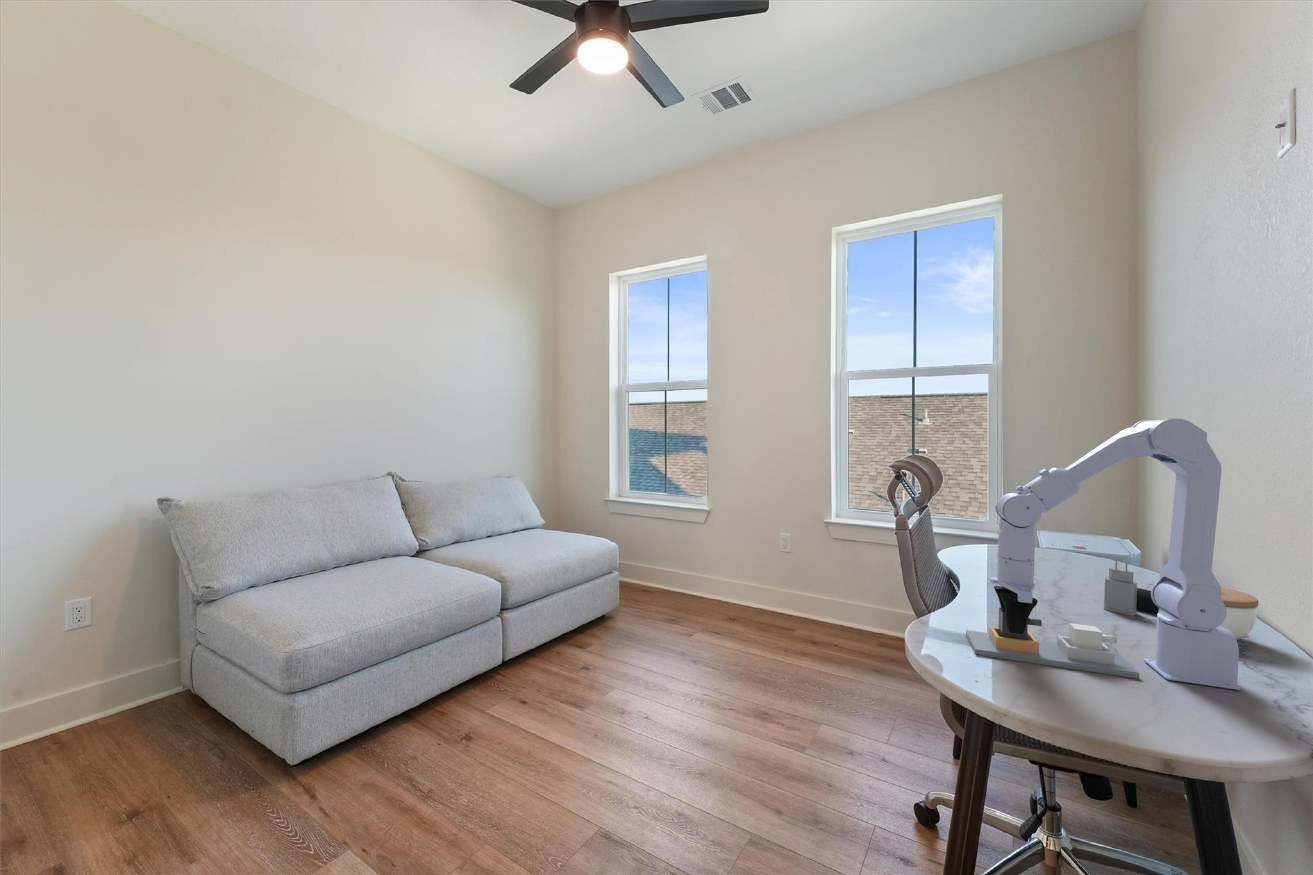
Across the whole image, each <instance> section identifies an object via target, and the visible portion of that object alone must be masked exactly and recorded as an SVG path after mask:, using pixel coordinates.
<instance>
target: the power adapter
mask: <svg viewBox="0 0 1313 875" xmlns="http://www.w3.org/2000/svg"><path fill="white" fill-rule="evenodd" d="M1114 566H1115V567H1109V568H1108V576H1106V577H1105V578H1104V586H1103V588H1104V590H1103V593H1104V594H1103V610H1106V611H1110V612H1113V613H1118V614H1123V615H1127V616H1131V617H1132V616H1135V615H1136V614H1137V609H1136V604H1137V588H1138V582H1137V581H1134V571H1132V570H1128V560H1125V569H1122V568H1118V558H1115V564H1114Z"/></svg>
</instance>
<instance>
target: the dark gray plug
mask: <svg viewBox="0 0 1313 875" xmlns="http://www.w3.org/2000/svg"><path fill="white" fill-rule="evenodd" d="M997 623H998V624H997V625H998V627H997V628H998V634H999V635H1000V637H1006V638H1013V639H1020V640H1027V632H1029V631H1028V627H1029V625H1030V626H1036V627H1042V626H1043V622H1042V619H1039V618H1031V617H1029V618H1028V620H1027V624H1026V627H1025V630H1024V633H1023V634H1017V633H1011V632H1009V629H1008V624H1007V616H1006V610H1005V608H1001V607H998V622H997Z"/></svg>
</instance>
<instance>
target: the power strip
mask: <svg viewBox="0 0 1313 875" xmlns="http://www.w3.org/2000/svg"><path fill="white" fill-rule="evenodd" d="M965 636H966V638H967V640H968V641H969V644H970V647H971V649H972V648H973V649H972V651H973V650H974V651H973V652H974V654H979V655H978V656H982V655H983V656H984V657H989V656H990V658H996V659H1004V660H1010V661H1016V662H1017V661H1018V662H1023V663H1032V664H1036V665H1045V666H1051V667H1057V668H1058V667H1059V668H1064V669H1072V670H1077V671H1083V672H1092V673H1096V674H1097V673H1098V674H1106V675H1110V676H1118V677H1125V678H1133V679H1137V680H1139V679H1140V672H1139V671H1138V670H1137V669H1135V667H1133V666H1132V665H1131V664H1130V663H1129V662H1128V661H1127V660H1126V659H1125V658H1123V657H1122V656H1121V655H1120V654H1119V653H1118V652H1117V651H1115V650H1114V649H1110V648H1109V647H1108V646H1107V645H1106V644H1105V643H1111V644H1117V639H1118V638H1117V636H1116V635H1108V634H1103V631H1101V630H1100V629H1099V628H1098V627H1097V626H1094V625H1087V624H1078V623H1071V622H1070V623H1068V636H1063V635H1056V641H1050V640H1044V639H1037V638H1035V636H1034V634H1033V633H1032V632H1031V631H1027V640H1020V639H1013V638H1006V637H1000V635H999V634H998V627H995V626H989V632H983V631H982V632H981V631H975V630H968V629H967V630H966V631H965Z"/></svg>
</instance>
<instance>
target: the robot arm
mask: <svg viewBox="0 0 1313 875" xmlns="http://www.w3.org/2000/svg"><path fill="white" fill-rule="evenodd" d="M1207 437H1208V433H1207V432H1206V431H1205V430H1204V429H1202V428H1201V427H1199V426H1198V425H1195V424H1194V423H1192V422H1191V421H1189V420H1186V419H1183V418H1168V419H1167V418H1166V419H1152V418H1151V419H1150V418H1149V419H1148V418H1147V419H1143V420H1140V421H1137V422H1136V423H1135V424H1133V425H1132V426H1130V427H1127V428H1125V429H1122V430H1120V431H1118V433H1116V434H1115V435H1113V436H1112V437H1110V438H1109V439H1107V440H1105V441H1104V442H1103V443H1101V444H1100V445H1098V446H1097V447H1095V448H1094V449H1092V450H1091V451H1089V452H1087V454H1085V455H1083V456H1082V457H1080V458H1078V460H1076V461H1075V462H1073V463H1072V464H1070V465H1069V466H1067V467H1066V468H1061V467H1060V468H1059V467H1058V468H1057V467H1052V468H1050V469H1049V470H1048V469H1047V468H1044V469H1042V470H1040V471H1038V474H1039V475H1038V476H1037V477H1036V478H1034V479H1032V480H1030V482H1028V483H1026V484H1025V485H1022V486H1021V485H1018V486H1016V487H1015V488H1014V489H1015V490H1016V492H1009V493H1005V494H1004V495H1002V496H1001V497H1000V498H999V499H998V502H997V504H996V505H995V506H994V507H995V508H994V509H995V512H996V514H997V516H998V517H999V523H998V526H999V530H998V534H997V536H998V537H997V538H998V539H997V569H996V570H997V571H996V572H997V573H996V577H994V576H991V577H989V582H990V583H991V584H995V585H994V586H993V589H994V592H995V593H996V595H997V598H998V602H999V604H1000V605H999V606H1000V608H1005V610H1006V616H1007V624H1008V629H1009V632H1011V633H1017V634H1023V633H1024V630H1025V627H1026V624H1027V620H1028V618H1030V615H1031V613H1032V611H1033V610H1034V608H1036V606H1037V605H1038V599H1037V598H1035V597H1033V592H1034V590H1035V589H1036V588H1035V587H1036V584H1035V581H1034V580H1035V553H1036V551H1035V549H1036V535H1035V530H1036V528H1035V527H1036V524H1038V523H1039V521H1040V520H1041V517H1042V513H1047V512H1049V511H1050V510H1051V509H1053V508H1055V507H1057V506H1058V505H1060V504H1062V503H1064V502H1065V501H1067V500H1069V499H1070V498H1072V497H1074V496H1076V495H1078V493H1079V488H1080V485H1081V483H1082V482H1085V481H1086V480H1089V479H1090V478H1091V477H1093V476H1095V475H1097V474H1099V473H1101V472H1103V471H1104V470H1106V469H1108V468H1110V467H1112V466H1114V465H1115V464H1117V463H1119V462H1121V461H1123V460H1125V459H1129V458H1141V457H1150V458H1153V459H1156V460H1157V461H1159V462H1161V464H1163V466H1165V467H1167V468H1168V469H1170V470H1171V471H1172V472H1173V473H1175V484H1174V494H1173V502H1172V504H1173V505H1172V506H1173V507H1172V515H1171V527H1170V537H1169V547H1168V558H1167V563H1166V564H1164V565H1163V567H1162V568H1161V569H1159V574H1158V575H1159V576H1158V578H1157V580H1156V582H1155V583H1153V585H1152V586H1151V589H1150V591H1151V598H1152V600H1153V602H1154V603H1155V604H1156V605H1157V606H1158V607H1159V612H1158V614H1156V616H1157V617H1156V618H1157V619H1156V636H1155V641H1156V642H1155V659H1152V658H1144V659H1143V660H1144V662H1145V663H1147V664H1148V665H1149V666H1150V667H1151V668H1152V669H1154V670H1155V672H1157V673H1158V674H1160V675H1161V676H1162V677H1163V678H1164V679H1166V680H1169V681H1176V682H1183V683H1189V684H1194V685H1203V686H1209V687H1216V688H1217V687H1218V688H1224V689H1229V690H1236V691H1237V690H1238V691H1239V690H1241V686H1240V685H1238V683H1239V682H1238V680H1239V679H1238V678H1239V657H1240V656H1239V655H1240V654H1239V653H1240V652H1239V650H1240V649H1239V645H1238V639H1237V640H1236V638H1235V636H1234V635H1233V633H1232V632H1231V631H1230V630H1228V629H1226V628H1222V627H1218V626H1219V625H1221V624H1222V623H1223V622H1224V620H1225V618H1226V615H1227V610H1226V607H1225V605H1224V603H1223V601H1222V599H1221V588H1222V586H1221V585H1220V582H1218V579H1217V578H1216V577H1215V575H1214V573H1213V559H1214V551H1215V539H1216V530H1217V519H1218V510H1219V499H1220V490H1221V481H1222V480H1221V479H1222V464H1221V462H1220V460H1219V459H1218V456H1217V455H1216V453H1215V452H1214V450H1213V448H1212V447H1211V445H1210V443H1209V442H1208V440H1207V439H1208V438H1207Z"/></svg>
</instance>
